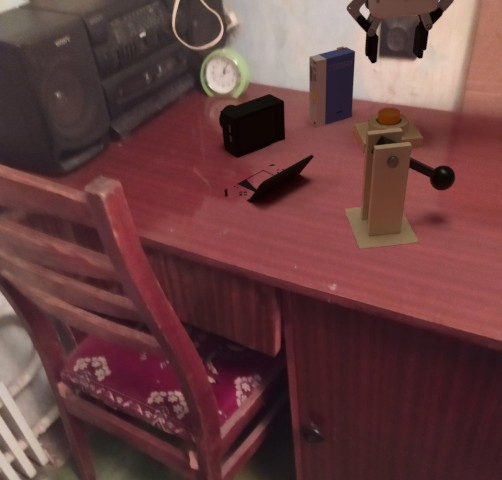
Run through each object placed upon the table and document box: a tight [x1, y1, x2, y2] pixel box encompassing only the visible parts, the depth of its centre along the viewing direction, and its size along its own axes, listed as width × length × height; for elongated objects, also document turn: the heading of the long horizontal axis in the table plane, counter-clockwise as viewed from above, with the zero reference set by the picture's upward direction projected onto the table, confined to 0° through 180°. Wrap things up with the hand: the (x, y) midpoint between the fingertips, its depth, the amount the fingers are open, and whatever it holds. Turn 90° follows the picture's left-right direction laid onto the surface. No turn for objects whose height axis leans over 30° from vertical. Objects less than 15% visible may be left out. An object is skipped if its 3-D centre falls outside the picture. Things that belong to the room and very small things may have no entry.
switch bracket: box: [343, 128, 420, 250], centre depth 77 cm, size 8×10×14 cm
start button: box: [378, 107, 401, 126], centre depth 99 cm, size 4×4×2 cm
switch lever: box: [371, 136, 456, 191], centre depth 75 cm, size 12×3×3 cm
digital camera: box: [218, 93, 286, 158], centre depth 101 cm, size 10×5×7 cm, turn 124°
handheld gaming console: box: [224, 154, 314, 203], centre depth 90 cm, size 12×7×10 cm
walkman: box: [308, 45, 356, 128], centre depth 104 cm, size 8×3×12 cm, turn 117°
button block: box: [353, 112, 424, 154], centre depth 100 cm, size 10×8×4 cm
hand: (394, 57), depth 92 cm, fingers open, 6 cm apart
